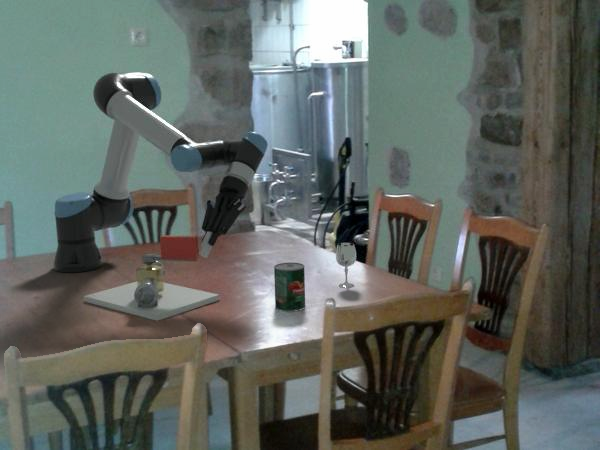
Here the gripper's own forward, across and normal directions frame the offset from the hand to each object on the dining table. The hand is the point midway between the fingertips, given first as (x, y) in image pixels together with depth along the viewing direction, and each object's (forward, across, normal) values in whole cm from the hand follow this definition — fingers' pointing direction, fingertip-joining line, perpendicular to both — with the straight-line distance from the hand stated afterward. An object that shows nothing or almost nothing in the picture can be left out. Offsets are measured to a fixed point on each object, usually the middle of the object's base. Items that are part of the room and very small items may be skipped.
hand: (202, 254), depth 210 cm
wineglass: (-12, -23, -34) cm, 43 cm away
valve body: (+13, +13, -1) cm, 19 cm away
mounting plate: (+14, +13, -2) cm, 20 cm away
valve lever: (+5, +7, +3) cm, 9 cm away
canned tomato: (+5, -22, -16) cm, 28 cm away
